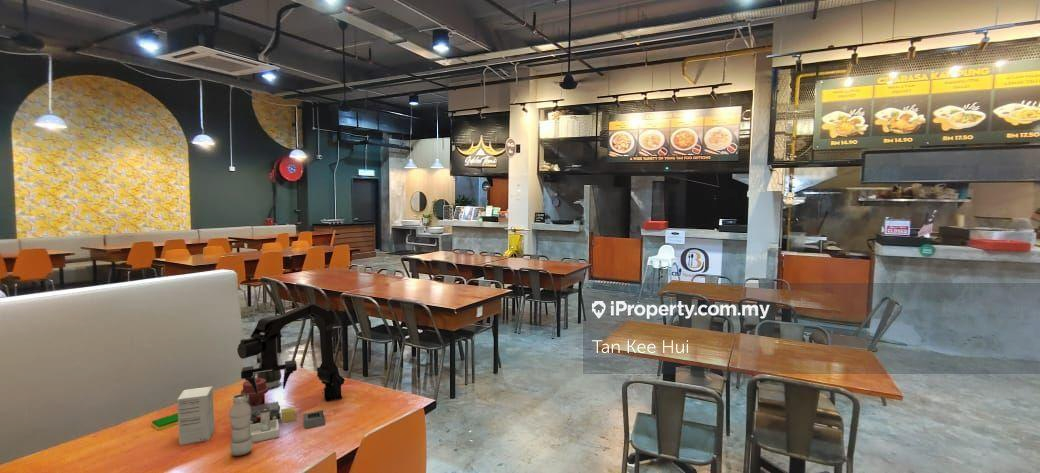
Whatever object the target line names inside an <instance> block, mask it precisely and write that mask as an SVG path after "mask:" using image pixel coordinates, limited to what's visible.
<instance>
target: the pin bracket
mask: <svg viewBox="0 0 1040 473" xmlns="http://www.w3.org/2000/svg"><path fill="white" fill-rule="evenodd" d="M302 416H303V425H304V427H303V428H304V430H307V429H311V428H316V427H317V428H318V427H321V426H325V422H326V421H325V418H326V417H325V415H324V410H323V409H322V410H317V411H313V412H307V413H303V414H302Z"/></svg>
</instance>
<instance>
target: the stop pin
mask: <svg viewBox="0 0 1040 473" xmlns="http://www.w3.org/2000/svg"><path fill="white" fill-rule="evenodd" d="M259 417H260V418H259V419H260V423H261V432H265V431H270V413H269V407H263V408H261V409H260V415H259Z"/></svg>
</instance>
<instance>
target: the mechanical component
mask: <svg viewBox="0 0 1040 473" xmlns="http://www.w3.org/2000/svg"><path fill="white" fill-rule="evenodd" d="M255 379H256V384H257V394H256V392H255V390H254V388H253V386H252V385H251V383H250V382H249V381H248V380H247V381H246V380H245V381H244V382H243V383H242V389H241V391H240V394H245V395H246V397H247V395H249V405H250V407H251V406H257V405H262V404H266V400H265V399H266V397H265V396H266V395H265V394H267V393H268V392H269V388H268V386H267V385H266V380H265V379H263V378H257V377H255Z"/></svg>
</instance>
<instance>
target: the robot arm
mask: <svg viewBox="0 0 1040 473" xmlns="http://www.w3.org/2000/svg"><path fill="white" fill-rule="evenodd" d="M307 316H309V317H312V318H313V319H314V323H315V325H316V327H317V329H318V332H319V342H320V356H321V364H320V365H319V366H318V367H316V372H317V374H316V377H317V378H318V380H320V381H321V384H323V385H324V387H323V398H324V400H325V401H326V402H330V401H334V400H336V401H337V400H340V399H341V400H342V399H343V396H342V385H344V384H345V378H344V377H343V376H342V375H341V374H340V371H339V368H338V365H337V363H336V361H335V359H334V358H335V357H334V356H335V355H334V345H333V344H334V342H333V331H332V330H333V328H334V326H335V324H336V314H335V312H334V311H333V310H331V309H325V308H322V307H320V306H318V305H316V304H314V303H310V302H306V303H305V304H303V305H300V306H298V307H296V308H294V309H292V310H289V311H285V312H284V313H282V314H279V315H272V316H271V315H270V316H266V317H263V318H260V319H259V320H258V321H257V324H256V326H255V328H254V330H253V332H252V333H251V335H249V336H250V338H243V339H240V341H239V342H240V343H239V344H238V345H237V349H236V351H237V354H238V357H239V358H240V359H242V360H243V359H247V358H251V357H254V356H256V363H257V364H260V363H261V368H259V367H258V368H257V367H256V368H254V365H250V366H244V367H242V368H241V372H240V379H241V380H245V382H246V381H249V382H250V383H251V385H252V386H253V388H254V390H255V392H256V394H257V384H256V379H255V378H256V375H257V373H263V372H270V371H276V370H284V372H283V383H282V388H283V390H284V389H285V388H286V386H287V384H288V380H289V377H290V376H291V375H292V374H294V372H296V371H298V365H297V361H296V360H294V359H292V360H287V361H286V360H285V362H284V363H283V364H279V362H278V361H279V359H278V339H280V338H283V334H281V333H279V332H280V331H282V330H283V329H284V327H286V326H287V325H289V324H291V323H293V322H296V321H298V320H300V319H302V318H305V317H307ZM278 364H279V365H278ZM273 368H274V369H273Z"/></svg>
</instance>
